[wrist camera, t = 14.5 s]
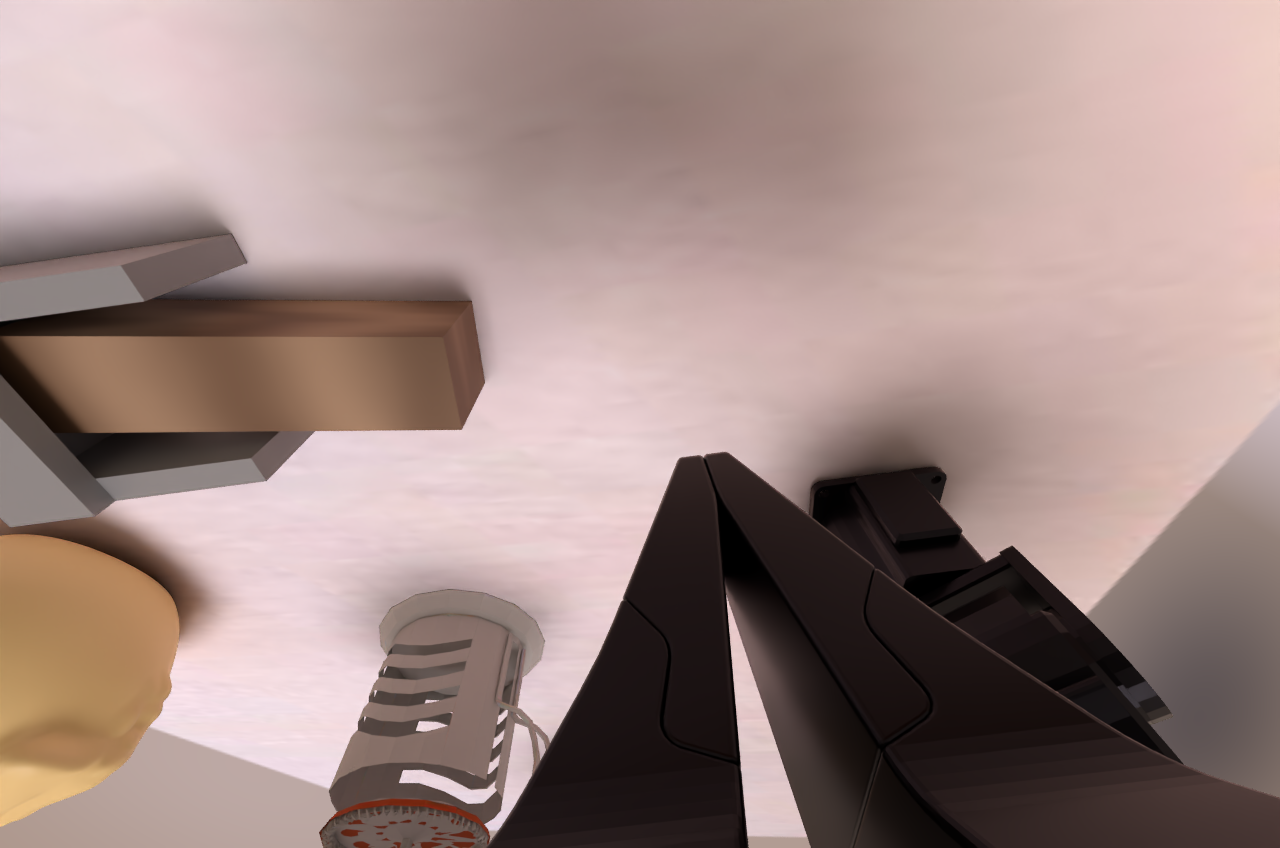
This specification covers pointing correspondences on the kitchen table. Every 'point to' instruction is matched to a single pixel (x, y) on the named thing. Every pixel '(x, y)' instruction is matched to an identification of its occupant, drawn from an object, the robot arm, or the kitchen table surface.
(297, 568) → the kitchen table surface
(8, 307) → the endcap
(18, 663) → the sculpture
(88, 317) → the slat
